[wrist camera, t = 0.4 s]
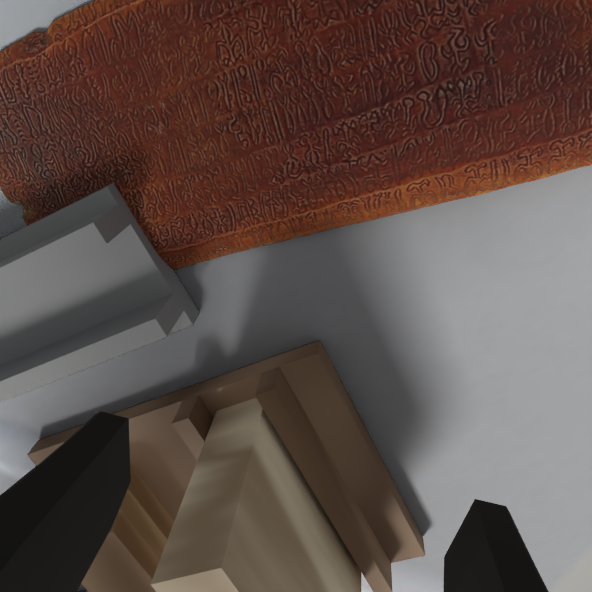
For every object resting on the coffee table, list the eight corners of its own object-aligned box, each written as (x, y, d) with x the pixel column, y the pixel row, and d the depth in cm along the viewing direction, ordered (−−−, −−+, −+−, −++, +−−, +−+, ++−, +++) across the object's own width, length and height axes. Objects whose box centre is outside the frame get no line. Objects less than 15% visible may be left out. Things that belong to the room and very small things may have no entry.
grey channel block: (-17, 399, 25) (-61, 443, 23) (-106, 293, 23) (-167, 327, 21) (199, 312, 22) (177, 352, 19) (118, 179, 20) (80, 203, 17)
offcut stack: (156, 586, 29) (135, 644, 26) (68, 479, 26) (34, 532, 23) (213, 573, 28) (197, 631, 25) (128, 460, 25) (99, 512, 22)
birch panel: (315, 564, 26) (298, 762, 19) (216, 410, 23) (150, 584, 16) (361, 553, 26) (360, 755, 19) (266, 394, 22) (220, 567, 15)
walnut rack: (166, 596, 30) (151, 640, 28) (38, 440, 26) (8, 478, 24) (422, 537, 26) (428, 584, 24) (319, 340, 22) (315, 375, 20)
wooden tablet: (816, -325, 13) (876, -371, 11) (794, 98, 17) (836, 105, 15) (-66, 48, 19) (-102, 50, 18) (68, 295, 23) (48, 314, 21)
